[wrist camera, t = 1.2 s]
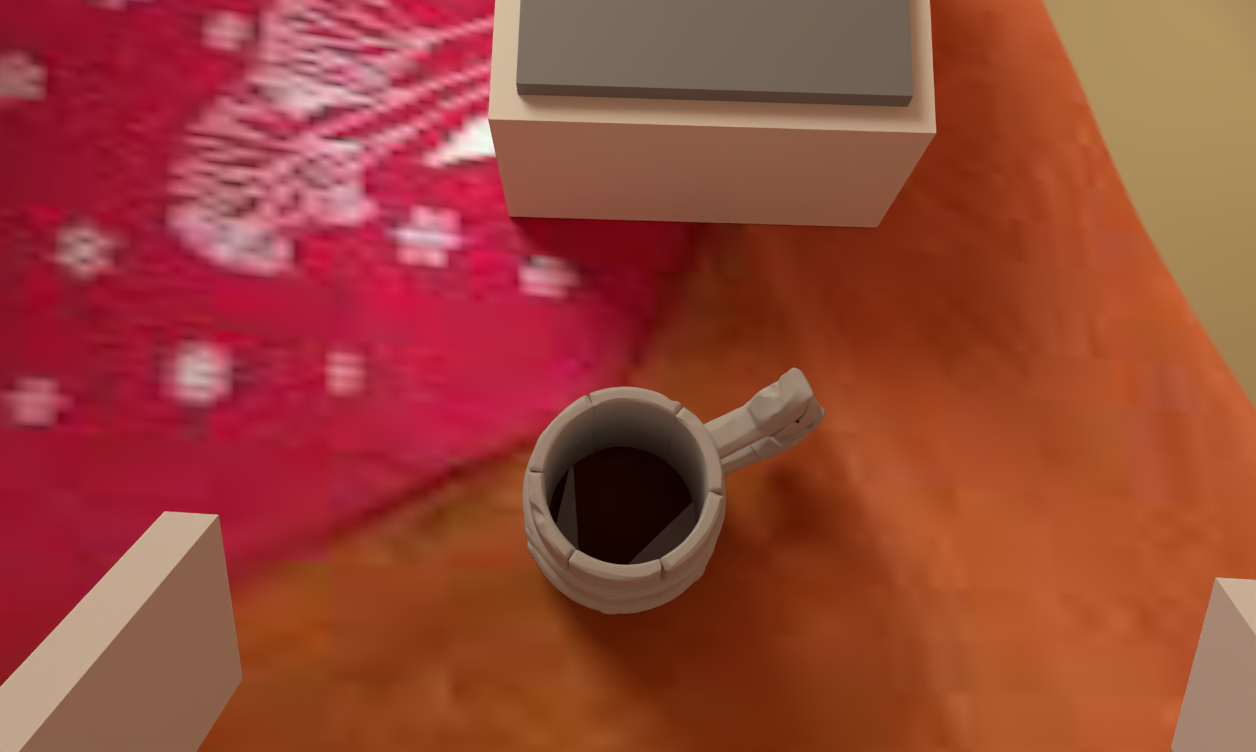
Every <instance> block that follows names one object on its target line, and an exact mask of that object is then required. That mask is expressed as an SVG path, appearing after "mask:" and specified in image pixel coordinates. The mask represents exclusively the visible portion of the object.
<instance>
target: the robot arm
mask: <svg viewBox="0 0 1256 752" xmlns="http://www.w3.org/2000/svg"><path fill="white" fill-rule="evenodd" d="M242 679H243V676H242V669H241V662H240V656H239V649H238V642H237V635H236V629H235V622H234V615H233V608H232V602H231V595H230V588H229V581H228V575H227V568H226V561H225V554H224V548H223V541H222V534H221V527H220V521H219V515H214V514H198V513H183V512H167V511H164V513H163V514H162V515H161V516H160V517H159V518H158V519H157V520H156V521H155V522H154V523H153V524H152V525H151V526H150V527H149V529H148V530H147V531H146V532H145V533H144V534H143V535H142V536H141V537H140V538H139V539H138V540H137V541H136V542H135V544H134V545H133V546H132V547H131V548H130V549H129V550H128V551H127V552H126V553H125V554H124V555H123V556H122V557H121V558H120V560H119V561H118V562H117V563H116V564H115V565H114V566H113V567H112V568H111V569H110V570H109V571H108V572H107V573H106V575H105V576H104V577H103V578H102V579H101V580H100V581H99V582H98V583H97V584H96V585H95V586H94V587H93V588H92V589H91V591H90V592H89V593H88V594H87V595H86V596H85V597H84V598H83V599H82V600H81V601H80V602H79V603H78V604H77V606H76V607H75V608H74V609H73V610H72V611H71V612H70V613H69V614H68V615H67V616H66V617H65V618H64V619H63V620H62V622H61V623H60V624H59V625H58V626H57V627H56V628H55V629H54V630H53V631H52V632H51V633H50V634H49V635H48V636H47V638H46V639H45V640H44V641H43V642H42V643H41V644H40V645H39V646H38V647H37V648H36V649H35V650H34V651H33V653H32V654H31V655H30V656H29V657H28V658H27V659H26V660H25V661H24V662H23V663H22V664H21V665H20V666H19V667H18V669H17V670H16V671H15V672H14V673H13V674H12V675H11V676H10V677H9V678H8V679H7V680H6V681H5V682H4V684H3V685H2V686H1V687H0V752H197V750H198V748H199V747H200V745H201V744H202V742H203V741H204V739H205V737H206V736H207V734H208V733H209V731H210V730H211V728H212V726H213V725H214V723H215V722H216V720H217V719H218V717H219V715H220V714H221V712H222V711H223V709H224V708H225V706H226V704H227V703H228V701H229V700H230V698H231V697H232V695H233V693H234V692H235V690H236V689H237V687H238V686H239V684H240V682H241V681H242ZM1171 749H1172V751H1173V752H1256V580H1247V579H1231V578H1215V582H1214V586H1213V590H1212V594H1211V597H1210V601H1209V605H1208V609H1207V613H1206V616H1205V620H1204V624H1203V628H1202V632H1201V635H1200V639H1199V643H1198V647H1197V651H1196V654H1195V658H1194V662H1193V666H1192V670H1191V673H1190V677H1189V681H1188V685H1187V689H1186V692H1185V696H1184V700H1183V704H1182V708H1181V711H1180V715H1179V719H1178V723H1177V727H1176V730H1175V734H1174V738H1173V742H1172V745H1171Z"/></svg>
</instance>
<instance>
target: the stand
mask: <svg viewBox="0 0 1256 752" xmlns="http://www.w3.org/2000/svg"><path fill="white" fill-rule="evenodd" d="M488 120H489V125H490V130H491V134H492V139H493V144H494V148H495V153H496V158H497V162H498V167H499V172H500V176H501V181H502V186H503V190H504V195H505V200H506V204H507V209H508V214H509V217H541V218H574V219H608V220H641V221H674V222H708V223H741V224H774V225H808V226H841V227H874V228H877V227H878V225H879V224H880V222H881V220H882V219H883V217H884V216H885V214H886V212H887V211H888V209H889V208H890V206H891V204H892V203H893V201H894V200H895V198H896V197H897V195H898V193H899V192H900V190H901V189H902V187H903V185H904V184H905V182H906V181H907V179H908V177H909V176H910V174H911V173H912V171H913V169H914V168H915V166H916V165H917V163H918V161H919V160H920V158H921V157H922V155H923V153H924V152H925V150H926V149H927V147H928V146H929V144H930V142H931V141H932V139H933V138H934V136H935V134H936V117H935V97H934V76H933V55H932V35H931V14H930V0H495V15H494V32H493V48H492V65H491V82H490V98H489V115H488Z"/></svg>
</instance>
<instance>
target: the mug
mask: <svg viewBox="0 0 1256 752" xmlns="http://www.w3.org/2000/svg"><path fill="white" fill-rule="evenodd" d="M681 408H682V405H681V404H680V403H679V402H678V401H671V400H670V399H669V398H667V397H666V396H664V395H662V394H660V393H658V392H654V391H651V390H647V389H643V388H637V387H614V388H607V389H602V390H598V391H595V392H592V393H590V395H589V397H588V396H583V397H581V398H579V399H578V400H576V401H575V402H574V403H572V404H571V405H569V406H568V407H567V408H566V409H565V410H564V411H563V412H561V413H560V414H559V415H558V416H557V417H556V418H555V419H554V420H553V421H552V422H551V423H550V424H549V426H548V427H547V428H546V430H545V431H544V432H543V433H542V434H541V435H540V437H539V439H538V441H537V444H536V446H535V449H534V451H533V453H532V455H531V457H530V460H529V463H528V466H527V469H526V472H525V477H524V483H523V511H524V528H525V532H526V536H527V538H528V542H527V545H528V550H529V552H530V554H531V556H532V558H533V559H535V560H536V563H537V564H538V566H539V568H540V569H541V571H542V572H543V574H544V576H545V577H546V578H547V579H548V580H549V581H550V582H551V583H552V584H553V585H554V586H555V587H556V588H557V589H558V590H559V591H560V592H561V593H563V594H564V595H565V596H567V597H568V598H570V599H571V600H573V601H575V602H577V603H579V604H581V605H583V606H585V607H588V608H591V609H594V610H597V611H600V612H601V613H604V614H629V613H638V612H641V611H646V610H650V609H653V608H655V607H659V606H661V605H663V604H665V603H667V602H669V601H671V600H673V599H674V598H676V597H678V596H679V595H681V594H682V593H683V592H684V591H685V590H686V589H688V588H689V587H690V586H691V585H692V583H693V582H696V581H697V580H698V579H700V577H701V576H702V575H703V573H704V572H705V569H706V567H705V566H706V565H707V563H708V561H709V559H710V557H711V555H712V554H713V552H714V548H715V545H716V542H717V539H718V536H719V534H720V531H721V528H722V525H723V521H724V516H725V510H726V484H725V478H724V476H726V475H728V474H730V473H732V472H734V471H736V470H739V469H741V468H743V467H746V466H748V465H750V464H753V463H756V462H759V461H761V460H762V459H768V458H771V457H774V456H776V455H779V454H781V453H783V452H785V451H787V450H789V449H791V448H793V447H795V446H796V445H798V444H799V443H801V442H802V441H803V440H804V439H805V437H806V436H807V435H808V433H810V432H811V431H812V430H814V429H815V428H816V427H817V426H818V425H819V424H820V423H821V421H822V420H823V418H824V416H825V411H824V409H823V408H822V406H821V405H820V404H819V402H818V401H817V399H816V398H815V397H814V393H813V390H812V388H811V386H810V384H809V382H808V381H807V379H806V377H805V375H804V374H803V372H802V371H801V370H800V369H797V368H792V369H790V370H789V371H788V372H786V373H785V374H784V375H782V376H781V377H780V378H779V381H777V382H775V383H773V384H772V385H770V386H768V387H766V388H763V389H762V390H760V391H759V392H758V393H757V394H756V395H755V396H754V397H753V398H752V399H751V400H750V401H748V402H747V403H746V404H745V405H744V406H742V407H740V408H738V409H735V410H733V411H731V412H729V413H727V414H725V415H723V416H721V417H719V418H716V419H714V420H712V421H710V422H708V423H706V424H704V425H703V423H702V422H701V421H700V420H699V419H698V418H697V417H696V416H695V415H694V414H693V413H692V412H690V411H689V410H687V409H686V408H684V407H683V408H682V409H681ZM611 447H632V448H637V449H641V450H644V451H647V452H650V453H652V454H654V455H655V456H657V457H658V458H660V459H662V460H665V461H666V462H667V463H668V464H669V465H670V466H671V467H672V468H673V469H674V470H675V471H676V472H677V473H678V474H679V475H680V477H681V478H682V480H683V481H684V483H685V484H686V486H687V488H688V491H689V493H690V496H691V499H692V503H691V504H690V505H689V506H688V507H687V508H685V509H684V510H683V511H682V512H681V513H680V514H679V515H678V516H677V517H676V518H675V519H674V520H673V521H672V522H671V523H670V524H669V525H668V526H667V527H666V528H665V529H664V530H663V531H662V532H661V533H660V534H659V535H658V536H657V537H656V538H655V539H654V540H652V541H651V542H650V543H649V544H648V545H647V546H646V547H645V548H644V549H643V550H642V551H641V552H640V553H639V554H638V555H637V556H636V557H635V558H634V559H633V560H632V561H631V562H630V563H629V564H628V565H620V564H612V563H607V562H603V561H600V560H597V559H595V558H592V557H590V556H588V555H586V554H584V553H583V552H581V551H579V545H578V530H577V515H576V501H575V486H574V471H573V465H574V464H575V463H576V462H578V461H579V460H581V459H582V458H584V457H586V456H588V455H590V454H591V453H592V451H593V452H597V451H600V450H603V449H606V448H611ZM568 470H569V472H568V476H567V480H566V484H565V489H564V493H563V497H562V501H561V506H560V510H559V514H558V518H557V523H556V524H555V523H554V521H553V519H552V516H551V513H550V511H549V508H550V505H551V500H552V497H553V494H554V491H555V489H556V487H557V485H558V483H559V481H560V480H561V478H562V477H563V475H564V474H565V473H566V472H567V471H568Z"/></svg>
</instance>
